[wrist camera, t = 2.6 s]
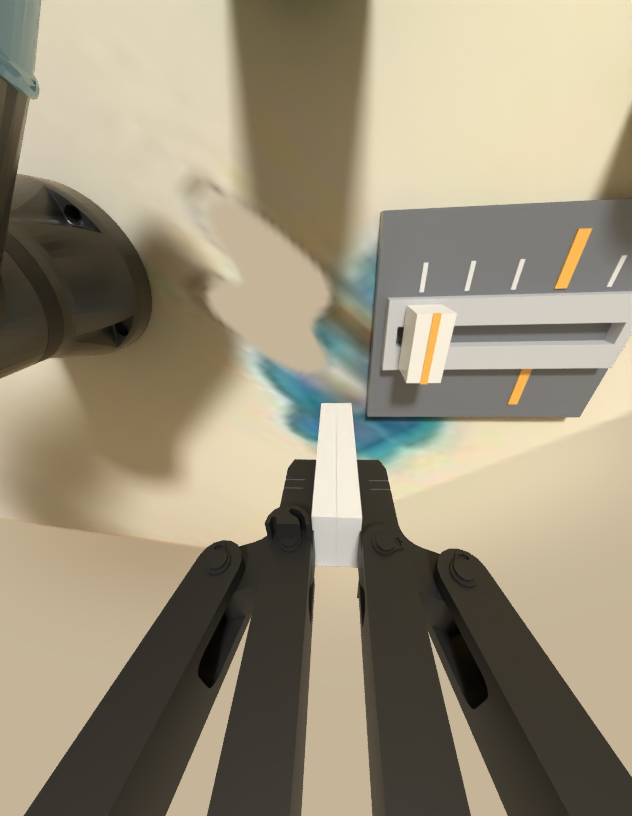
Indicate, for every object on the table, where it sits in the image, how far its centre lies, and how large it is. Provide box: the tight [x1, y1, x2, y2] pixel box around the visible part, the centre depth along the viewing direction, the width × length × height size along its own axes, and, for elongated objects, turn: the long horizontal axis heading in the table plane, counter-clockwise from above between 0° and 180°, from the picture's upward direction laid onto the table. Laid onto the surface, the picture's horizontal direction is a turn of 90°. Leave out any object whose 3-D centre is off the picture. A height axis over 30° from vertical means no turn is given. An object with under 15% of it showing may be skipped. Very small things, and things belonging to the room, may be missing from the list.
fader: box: [398, 304, 457, 384], centre depth 24 cm, size 3×6×5 cm, turn 2°
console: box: [366, 198, 632, 417], centre depth 26 cm, size 24×20×3 cm
